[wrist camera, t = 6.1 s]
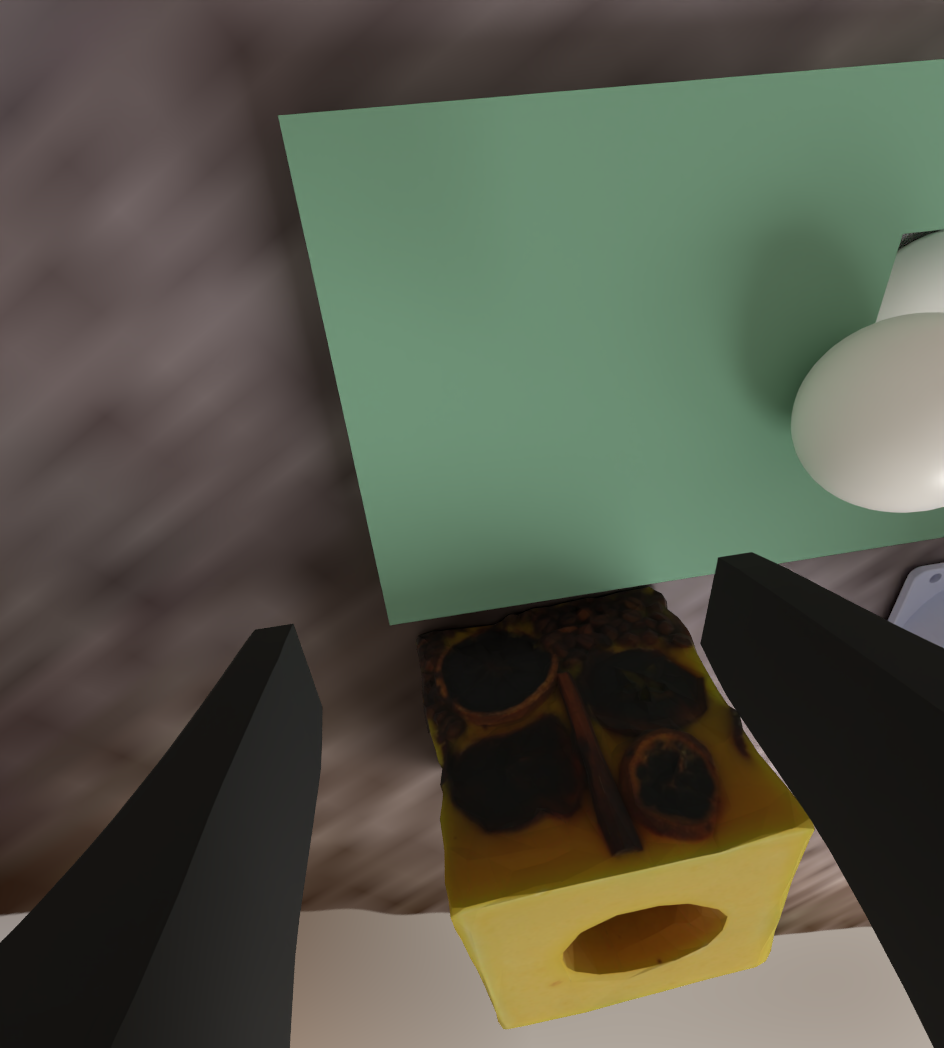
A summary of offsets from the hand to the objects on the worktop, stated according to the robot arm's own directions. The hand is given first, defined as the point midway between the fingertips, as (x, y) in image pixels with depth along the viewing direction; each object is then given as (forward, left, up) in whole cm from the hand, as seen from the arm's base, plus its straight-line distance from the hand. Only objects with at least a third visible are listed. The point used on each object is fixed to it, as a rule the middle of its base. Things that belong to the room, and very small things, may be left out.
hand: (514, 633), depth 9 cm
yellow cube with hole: (-3, +13, -10) cm, 16 cm away
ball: (-11, -1, -5) cm, 12 cm away
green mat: (-9, -1, -9) cm, 13 cm away
